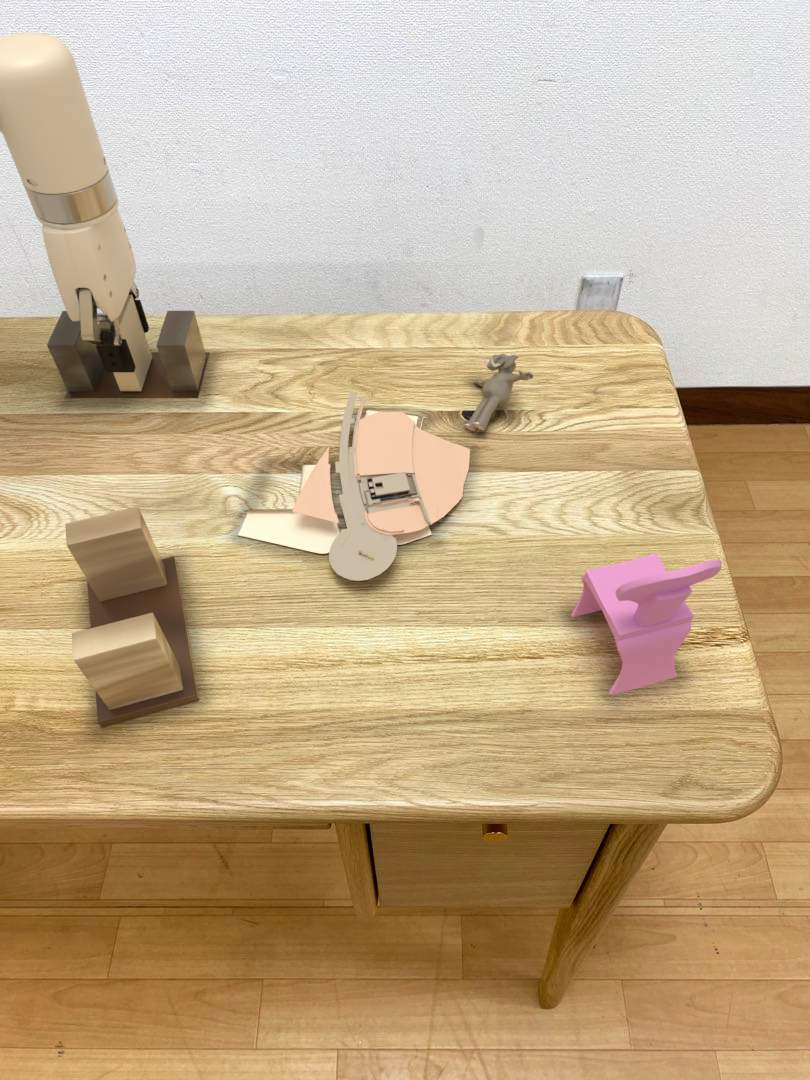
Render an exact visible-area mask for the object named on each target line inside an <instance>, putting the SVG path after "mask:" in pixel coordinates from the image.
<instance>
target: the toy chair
mask: <svg viewBox="0 0 810 1080" xmlns="http://www.w3.org/2000/svg"><path fill="white" fill-rule="evenodd" d="M722 566H723V565H722V560H721V559H718V558H716V559H710V560H706V561H703V562H700V563H695V564H692V565H689V566H686V567H682V568H677V569H673V570H672V569H671V570H667V569H666V568H665V566H664V564H663V562H662V561H661V559H660V557H659V556H658V554H657V553H653V554H649V555H645V556H641V557H638V558H634V559H631V560H627V561H623V562H619V563H614V564H610V565H604V566H600V567H595V568H592V569H588V570H585V572H584V575H582V576H581V577H580V578H581V582H582V586H583V587H582V591H581V595H580V597H579V599H578V601H577V603H576V605H575V607H574V609H573V610H572V612H571V617H572V618H576V617H580V616H585V615H587V614H592V613H596V612H600V611H602V613H603V616H604V618H605V620H606V622H607V624H608V627H609V629H610V631H611V633H612V636H613V638H614V641H615V646H616V650H617V652H618V654H619V656H620V658H621V669H620V671H619V674H618V676H617V678H616V679H615V681H614V683H613V684H612V686H611V687H610V689H609V691H608V694H609V696H613V695H617V694H622V693H624V692H628V691H632V690H635V689H640V688H642V687H646V686H649V685H655V684H657V683H661V682H664V681H668V680H671V679H675V678H678V673H677V671H676V668H675V667H676V666H675V656H676V654H677V651H678V650H679V648H680V647H681V646H682V644H683V642H684V641H685V640H686V638H687V637H688V636H689V634H690V632H691V629H692V623H691V622H692V620H693V619H694V616H695V615H694V614H693V612H692V611H691V609H690V607H689V605H688V604H687V602H686V600H687V599H688V597H689V596H690V595H691V594H692V593H693V590H692V588H691V586H693V585H696V584H699V583H701V582H704V581H706V580H709V579H711V578H714V577H715V576H717V575H718V574H719V573H720V572H721V570H722Z"/></svg>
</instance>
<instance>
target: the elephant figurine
mask: <svg viewBox="0 0 810 1080" xmlns="http://www.w3.org/2000/svg"><path fill="white" fill-rule="evenodd" d="M517 359H519V356H518V355H516V354H512V355H507V354H506V353H500V354H493V355H492V356H490V358H489V361H488V360H487V358H486V357H483V361H484V364H485V367H486V368H487V369H489V370H490V371H491V372H494V371H498V372H495V373H493V374H492V376H491V377H490V378H487V379H484V380H482V379H481V380H480V379H477V378H473V383H474V385H477V386H479V387H480V388H481V395H482V399H481V401H480V402H479V403H478V405H477V407H476V409H475V410H474V412H473V413H472V416H471V417H470V418H469V420H468V421H467V423H465V424H464V425H463V426H464V427H465V428H466V429H467V430H468V431H471V432H473V433H476V432H477V429H478V430H479V431H483V432H485V431H486V429H487V427H488V424H489V423H490V419H491V417H492V415H493V414H494V412H495V411H496V409H497V408H498V406H499V407H501V408H502V410H503V412H504V416H505V418H506V419H508V418H509V417H508V415H509V413H508V403H509V401H510V397H511V394H512V390H513V386H514V383H516V382H519V381H528V380H530V379H531V380H532V379H534V374H533V373H532V372H530V371H528V372H523V371H521V370H518V374H517V373H513V372H514V371H515V369H516V368H517V363H516V360H517Z"/></svg>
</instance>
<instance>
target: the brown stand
mask: <svg viewBox="0 0 810 1080" xmlns="http://www.w3.org/2000/svg"><path fill="white" fill-rule="evenodd" d="M64 526H65V540H66V541H65V542H66V547H67V548H68V550H69V552H70V554H71V555H72V557H73V559H74V561H75V562H76V564H77V566H78V567H79V569H80V571H81V572H82V574H83V576H84V577H85V579H86V585H87V599H88V612H89V626H90V628H87V629H83V630H79V631H75V632H71V642H72V644H71V645H72V660H73V661H74V663H75V664H76V666H77V667H78V669H79V670H80V672H81V673H82V674H83V675H84V677H85V678H86V680H87V681H88V682H89V684H90V685H91V686H92V688H93V689H94V691H95V702H96V703H95V704H96V717H97V723H98V725H99V726H100V727H101V728H102V729H104V728H106V727H110V726H113V725H116V724H120V723H121V724H122V723H124V722H128V721H131V720H134V719H138V718H142V717H144V716H149V715H153V714H156V713H160V712H163V711H168V710H171V709H173V708H177V707H181V706H184V705H188V704H191V703H196V702H199V701H200V694H199V689H198V688H199V687H198V683H197V682H198V681H197V677H196V670H195V665H194V658H193V652H192V647H191V641H190V635H189V627H188V621H187V617H186V616H187V615H186V610H185V604H184V598H183V592H182V587H181V580H180V575H179V568H178V563H177V559H176V557H175V556H174V555H173V556H170V557H169V556H168V557H164V558H162V557H161V555H160V552H159V550H158V548H157V546H156V544H155V541H154V539H153V537H152V534H151V531H150V530H149V527H148V525H147V523H146V521H145V518H144V516H143V513H142V511H141V508H139V506H136V507H132V508H127V509H123V510H122V509H121V510H118V511H114V512H110V513H105V514H101V515H97V516H93V517H89V518H84V519H81V520H76V521H71V522H66V523H65V525H64Z"/></svg>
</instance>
